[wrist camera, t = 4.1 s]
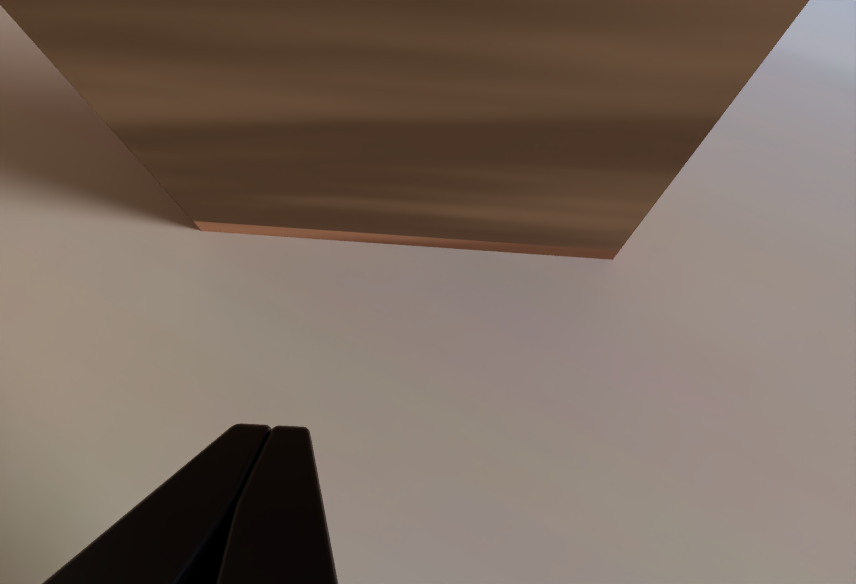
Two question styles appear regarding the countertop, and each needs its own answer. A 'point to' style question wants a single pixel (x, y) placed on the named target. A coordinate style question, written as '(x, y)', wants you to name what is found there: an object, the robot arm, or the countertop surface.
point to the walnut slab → (412, 109)
